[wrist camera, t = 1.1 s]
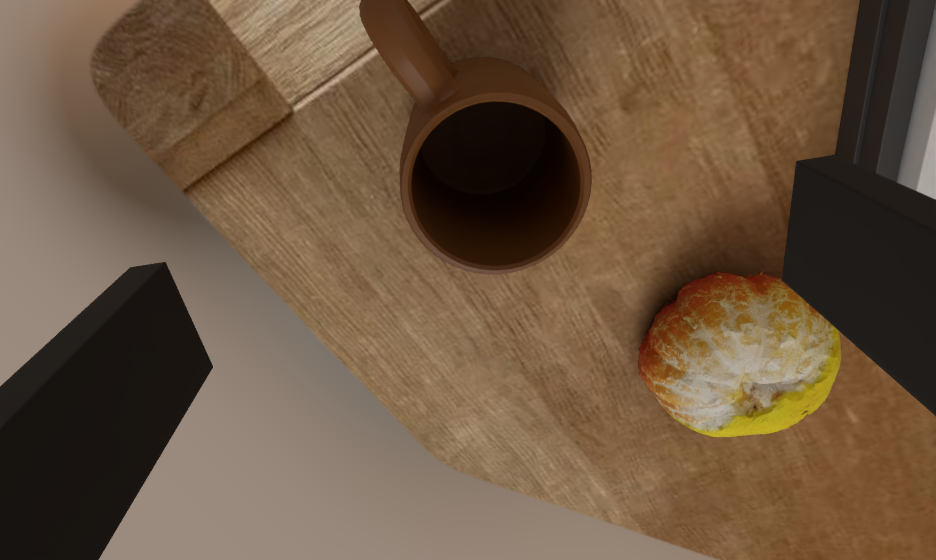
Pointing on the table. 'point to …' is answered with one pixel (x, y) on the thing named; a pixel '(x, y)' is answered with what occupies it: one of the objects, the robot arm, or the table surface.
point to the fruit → (739, 356)
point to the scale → (883, 82)
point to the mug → (480, 151)
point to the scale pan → (922, 127)
